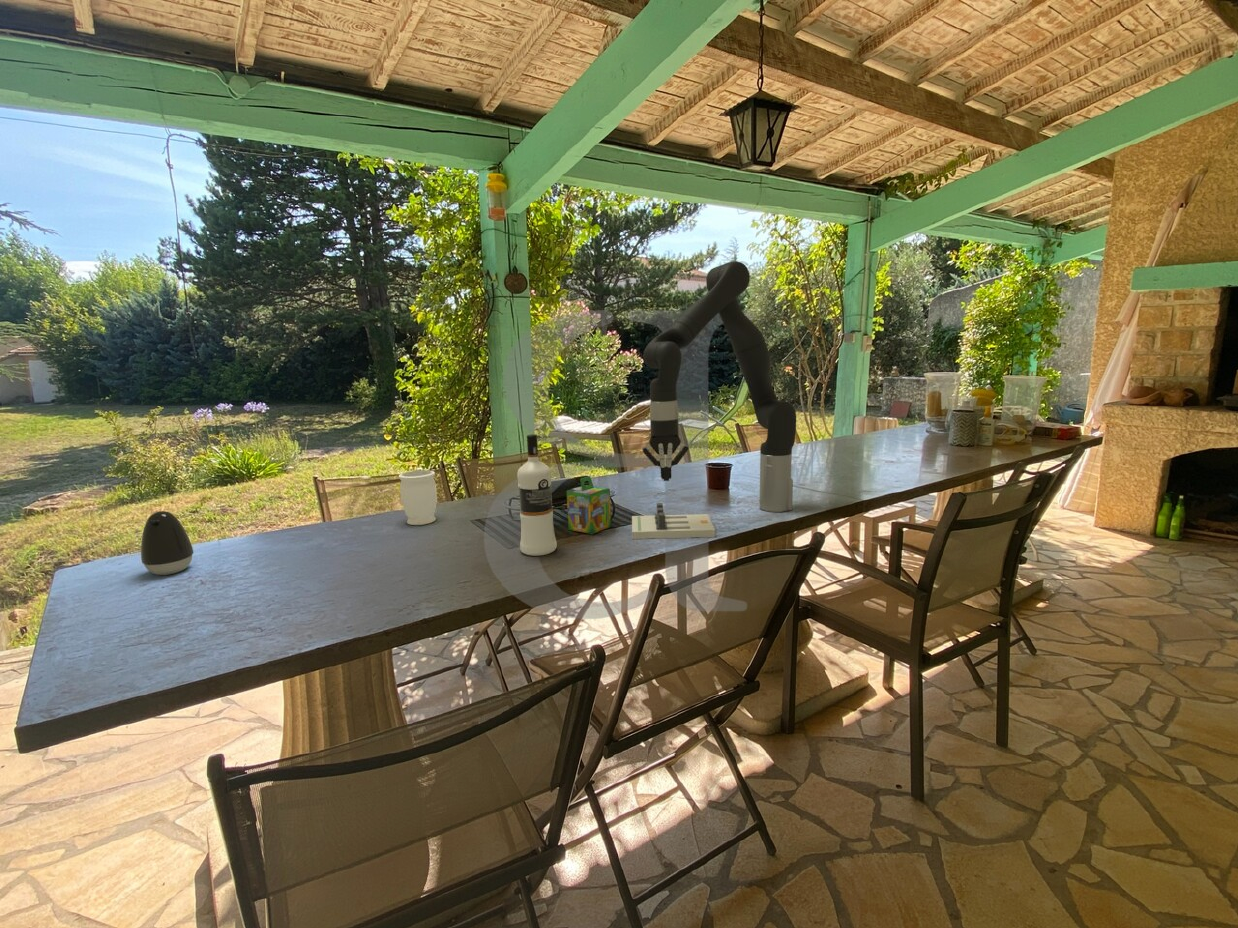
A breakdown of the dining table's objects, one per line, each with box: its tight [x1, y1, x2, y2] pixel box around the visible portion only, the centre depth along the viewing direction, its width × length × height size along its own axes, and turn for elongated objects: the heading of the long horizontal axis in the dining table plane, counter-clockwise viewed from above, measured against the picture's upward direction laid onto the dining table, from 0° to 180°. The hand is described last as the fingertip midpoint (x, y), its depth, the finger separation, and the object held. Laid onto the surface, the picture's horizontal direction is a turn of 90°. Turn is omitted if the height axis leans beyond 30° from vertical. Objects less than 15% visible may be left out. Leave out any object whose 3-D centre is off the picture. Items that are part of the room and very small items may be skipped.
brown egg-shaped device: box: [140, 510, 194, 576], centre depth 147 cm, size 10×10×15 cm
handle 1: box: [654, 502, 664, 518], centre depth 173 cm, size 3×3×4 cm
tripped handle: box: [655, 507, 666, 524], centre depth 168 cm, size 3×3×4 cm
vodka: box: [516, 433, 558, 557], centre depth 152 cm, size 9×9×30 cm
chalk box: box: [566, 475, 612, 535], centre depth 171 cm, size 9×9×15 cm
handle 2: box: [656, 512, 667, 529], centre depth 164 cm, size 3×3×4 cm
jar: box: [398, 469, 438, 526], centre depth 183 cm, size 11×10×15 cm
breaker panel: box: [631, 513, 716, 540], centre depth 169 cm, size 22×15×2 cm
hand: (666, 480), depth 166 cm, fingers closed
